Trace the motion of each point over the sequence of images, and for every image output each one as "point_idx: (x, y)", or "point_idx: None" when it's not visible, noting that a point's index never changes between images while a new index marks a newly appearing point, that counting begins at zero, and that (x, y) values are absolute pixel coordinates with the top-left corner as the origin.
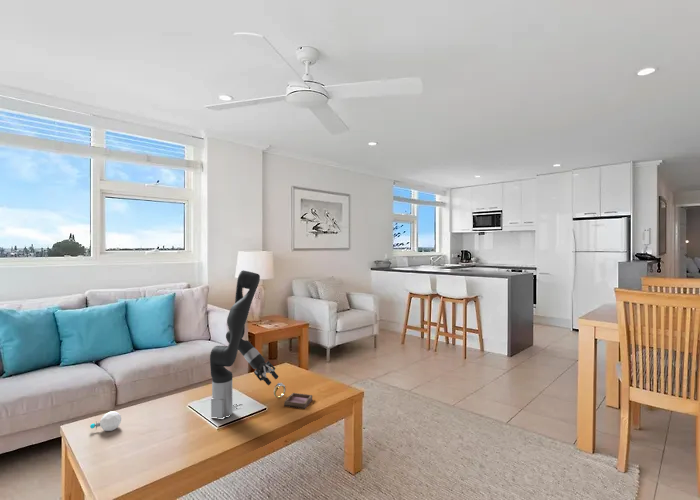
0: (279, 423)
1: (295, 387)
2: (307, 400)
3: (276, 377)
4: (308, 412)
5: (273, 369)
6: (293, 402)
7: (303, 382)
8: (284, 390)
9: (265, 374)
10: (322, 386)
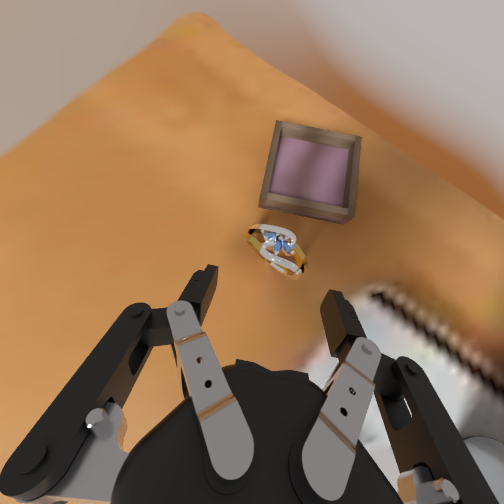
0: (469, 212)
1: (152, 215)
2: (327, 131)
3: (215, 279)
4: (371, 136)
5: (169, 316)
6: (355, 178)
7: (93, 191)
8: (253, 235)
9: (353, 363)
10: (145, 114)
